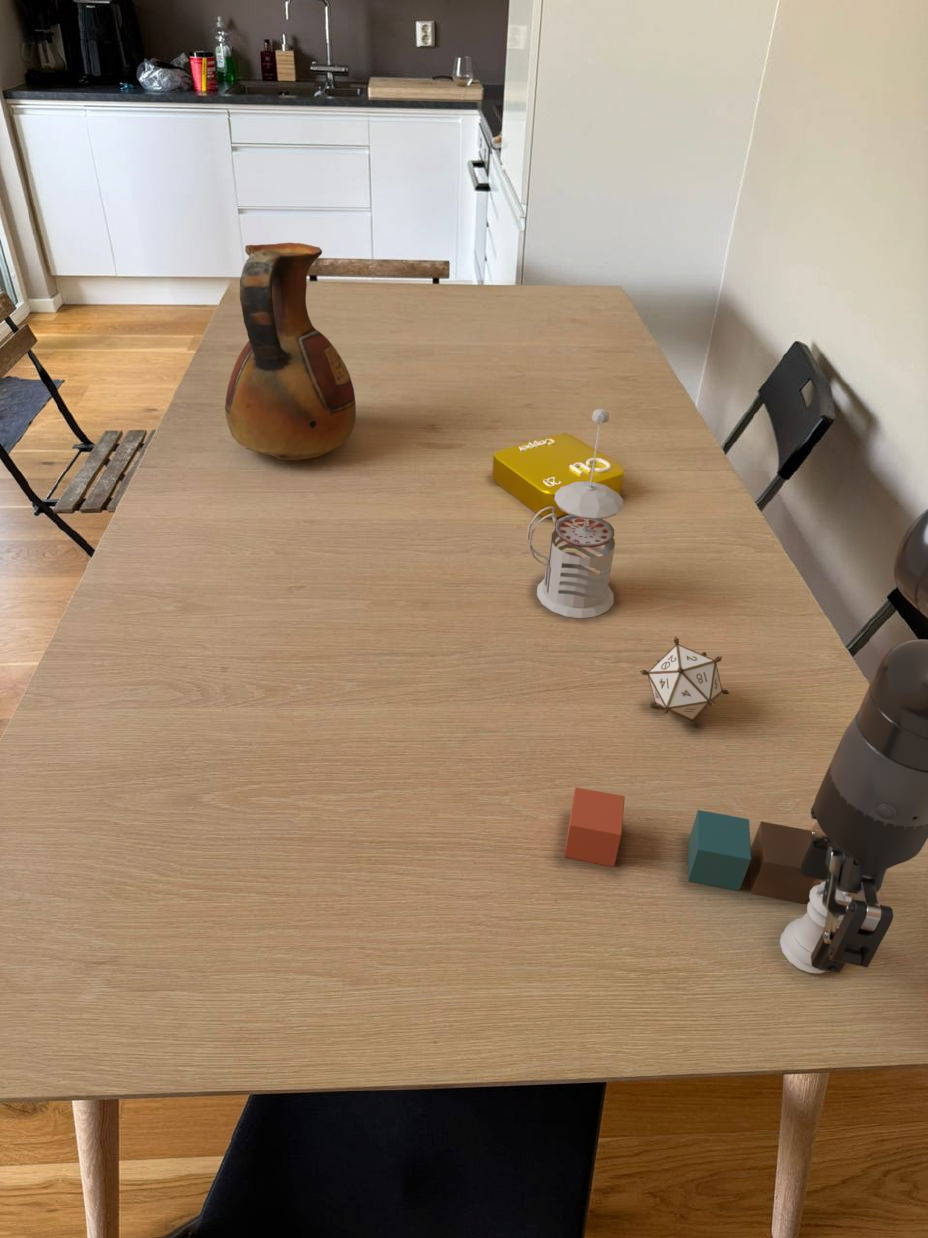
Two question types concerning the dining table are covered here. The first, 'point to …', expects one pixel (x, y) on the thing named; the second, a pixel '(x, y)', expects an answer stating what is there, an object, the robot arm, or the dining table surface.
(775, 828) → the walnut block
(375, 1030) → the dining table surface
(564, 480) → the element tile
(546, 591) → the french press
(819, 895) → the rook chess piece
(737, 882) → the teal block
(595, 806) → the terracotta block
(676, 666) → the game die
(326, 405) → the ceramic pitcher
